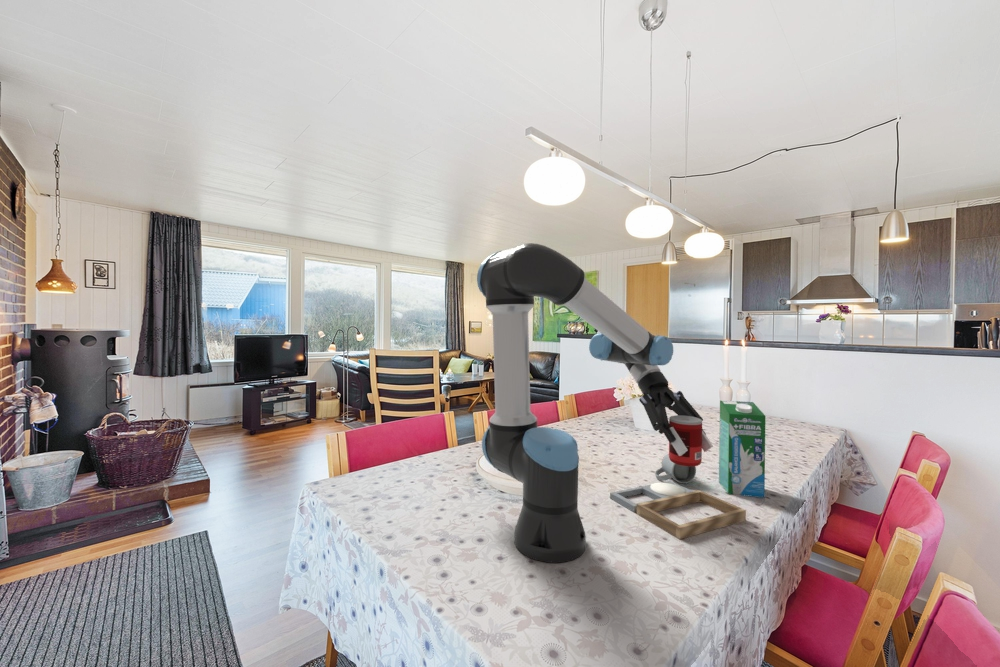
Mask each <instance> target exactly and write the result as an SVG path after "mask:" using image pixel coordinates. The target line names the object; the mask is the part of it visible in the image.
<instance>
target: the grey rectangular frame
mask: <svg viewBox="0 0 1000 667" xmlns="http://www.w3.org/2000/svg"><path fill="white" fill-rule="evenodd" d="M693 491H694V490H691V489H689V488H687V487H685V486H682V485H680V484H678V483H675V482H673V481H671V480H666V481H662V482H655V483H652V484H647V485H643V486H637V487H631V488H627V489H624V490H623V489H622V490H617V491H613V492H610V493H609V499H610V500H612V501H614V502H615V503H616V504H619V505H621V506H622V507H624V508H626V509H628V510H629V511H631V512H633V513H637V504H639V503H643V502H644V501H642V502H637V503H635V502H633V501H631V500H630V499H628V498H627V496H628V497H632V495H633V496H637V494H638V495H642V494H641V493H643V495H644V494H645V495H644V496H646V497H648V498H650V497H651V498H650V499H651V500H645V502H648V501H652V500H657V499H662V498H666V497H671V496H675V495H680V494H684V493H689V492H693Z"/></svg>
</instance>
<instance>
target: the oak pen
mask: <svg viewBox="0 0 1000 667" xmlns="http://www.w3.org/2000/svg"><path fill="white" fill-rule="evenodd" d="M692 491H693V492H689V493H684V494H680V495H675V496H671V497H666V498H662V499H657V500H654V499H651V500H652V501H650V500H647V501H648V502H646V501H642V502H643V503H641V502H638V503H639V504H637V503H636V504H637V512H636V515H637V516H639V517H641V518H643V519H644V520H646V521H648V522H650V523H651V524H652V525H655V526H657V527H658V528H660V529H661V530H663V531H665V532H666V533H668V534H670V535H671V536H673V537H674V538H677V539H678V540H682V539H686V538H689V537H692V536H696V535H699V534H703V533H706V532H711V531H714V530H717V529H718V530H719V529H720V528H724V527H728V526H732V525H735V524H738V523H741V522H745V521H746V520H747V510H746V509H744V508H742V507H740V506H737V505H734V504H733V503H730V502H728V501H725V500H723V499H721V498H718V497H716V496H714V495H712V494H709V493H707V492H704V491H702V490H700V489H699V490H695V491H694V490H692ZM694 503H702V504H704V503H705V504H704V505H706V504H707V505H706V506H708V507H711V508H713V507H714V508H713V509H715V508H716V509H715V510H717V509H718V511H719V512H722V513H720V514H716V515H712V516H710V517H709V516H708V517H705V518H701V519H698V520H693V521H690V522H685V523H683V524H682V523H681V524H679V523H677V522H675V521H674V520H671V519H669V518H668V517H666V516H664V515H662V514H660V513H658V512H661V511H665V510H668V509H673V508H678V507H682V505H683V506H686V504H687V505H690V504H691V505H692V504H694Z"/></svg>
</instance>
